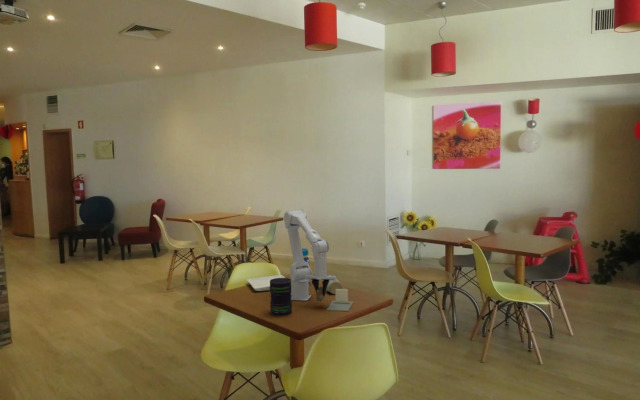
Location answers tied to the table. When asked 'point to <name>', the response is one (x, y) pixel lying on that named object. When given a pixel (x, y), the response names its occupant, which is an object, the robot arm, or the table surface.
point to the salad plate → (262, 282)
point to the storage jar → (280, 296)
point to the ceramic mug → (334, 286)
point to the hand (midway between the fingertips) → (320, 295)
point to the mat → (340, 306)
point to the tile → (341, 295)
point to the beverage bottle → (305, 259)
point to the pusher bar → (320, 294)
